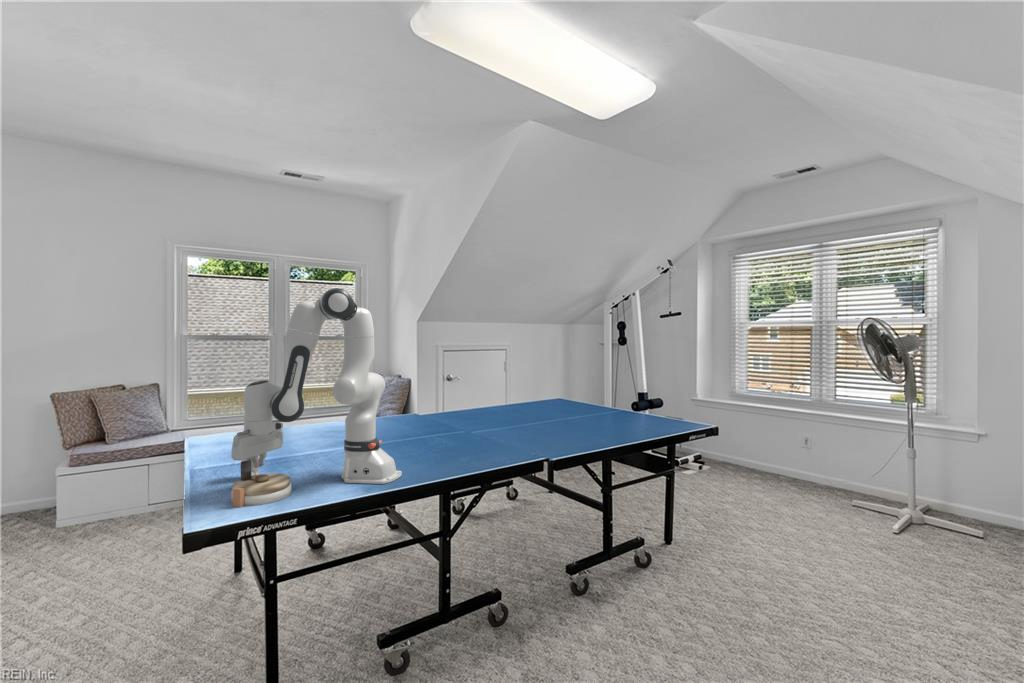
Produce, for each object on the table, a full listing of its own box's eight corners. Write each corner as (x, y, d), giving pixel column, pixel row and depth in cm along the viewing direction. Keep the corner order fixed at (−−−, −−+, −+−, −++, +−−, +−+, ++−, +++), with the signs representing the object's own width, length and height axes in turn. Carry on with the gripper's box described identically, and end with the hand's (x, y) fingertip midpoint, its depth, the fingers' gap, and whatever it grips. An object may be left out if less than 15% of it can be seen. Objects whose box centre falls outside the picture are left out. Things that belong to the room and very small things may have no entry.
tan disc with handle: (300, 481, 173) (300, 458, 172) (263, 497, 156) (263, 472, 156) (260, 477, 177) (260, 455, 177) (220, 492, 161) (220, 468, 161)
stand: (303, 489, 173) (302, 474, 173) (260, 509, 154) (259, 492, 154) (260, 485, 178) (260, 469, 178) (213, 503, 159) (213, 486, 159)
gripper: (241, 434, 163) (242, 476, 163) (286, 422, 182) (286, 460, 183) (226, 432, 165) (226, 474, 165) (272, 421, 184) (272, 458, 185)
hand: (258, 466), depth 174 cm, fingers closed
